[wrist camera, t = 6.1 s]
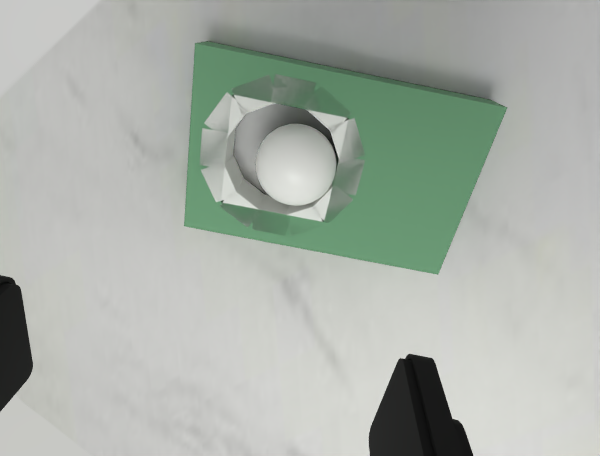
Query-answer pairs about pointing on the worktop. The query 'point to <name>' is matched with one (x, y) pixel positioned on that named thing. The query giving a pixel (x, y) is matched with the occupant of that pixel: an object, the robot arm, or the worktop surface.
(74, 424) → the worktop surface
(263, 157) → the ball
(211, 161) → the green flat slab
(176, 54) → the worktop surface
